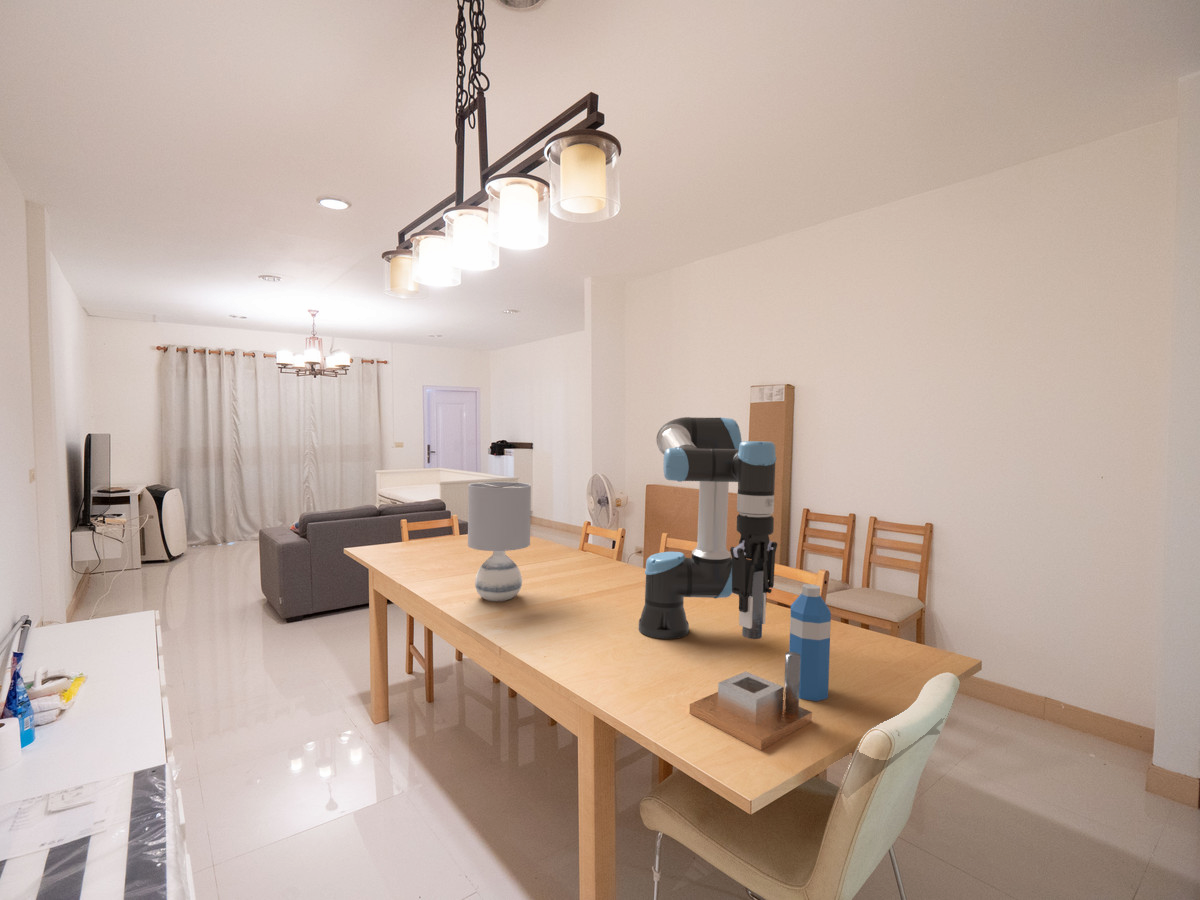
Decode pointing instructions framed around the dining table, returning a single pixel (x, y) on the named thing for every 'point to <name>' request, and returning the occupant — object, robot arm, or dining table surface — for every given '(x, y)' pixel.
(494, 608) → the dining table surface
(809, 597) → the water bottle
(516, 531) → the lamp
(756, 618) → the square metal peg
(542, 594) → the dining table surface
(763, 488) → the robot arm
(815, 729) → the dining table surface
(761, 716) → the peg insertion fixture
